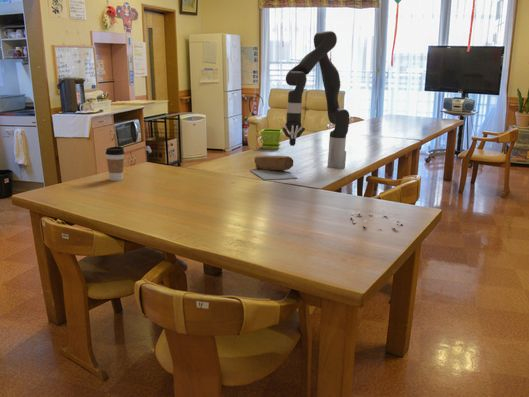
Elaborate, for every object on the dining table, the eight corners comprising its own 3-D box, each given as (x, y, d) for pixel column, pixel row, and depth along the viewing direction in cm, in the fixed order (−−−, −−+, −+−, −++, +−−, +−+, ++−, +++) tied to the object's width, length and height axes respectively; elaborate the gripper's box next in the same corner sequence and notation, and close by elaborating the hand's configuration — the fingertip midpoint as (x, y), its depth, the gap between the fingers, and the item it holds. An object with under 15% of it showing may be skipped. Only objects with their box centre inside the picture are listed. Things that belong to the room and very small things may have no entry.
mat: (281, 170, 266) (281, 169, 265) (297, 178, 246) (297, 177, 245) (250, 171, 259) (250, 170, 259) (264, 180, 239) (264, 179, 239)
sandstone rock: (282, 157, 253) (252, 156, 265) (283, 171, 254) (253, 169, 266) (294, 155, 261) (265, 154, 273) (294, 169, 263) (265, 167, 275)
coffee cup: (129, 178, 231) (128, 147, 228) (117, 182, 224) (115, 149, 220) (115, 176, 235) (114, 145, 231) (102, 179, 227) (101, 148, 224)
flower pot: (262, 146, 347) (263, 128, 343) (282, 147, 345) (282, 129, 342) (259, 149, 333) (260, 130, 330) (279, 150, 331) (280, 131, 328)
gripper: (302, 111, 253) (300, 144, 258) (279, 111, 249) (277, 144, 253) (309, 112, 246) (306, 146, 251) (285, 112, 242) (283, 146, 246)
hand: (292, 145), depth 252 cm, fingers closed
